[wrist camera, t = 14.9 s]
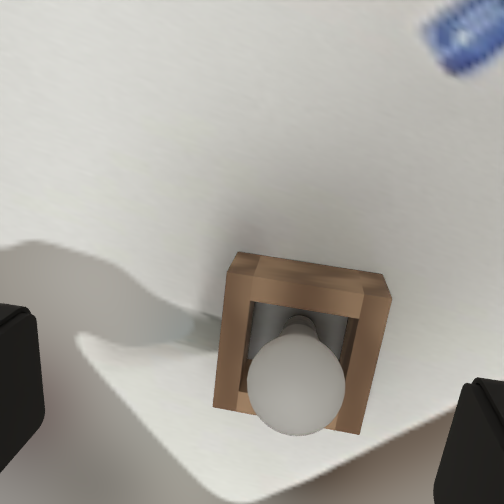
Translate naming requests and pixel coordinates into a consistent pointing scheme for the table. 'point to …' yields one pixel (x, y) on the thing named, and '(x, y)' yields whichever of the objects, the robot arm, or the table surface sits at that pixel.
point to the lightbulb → (296, 381)
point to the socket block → (307, 298)
